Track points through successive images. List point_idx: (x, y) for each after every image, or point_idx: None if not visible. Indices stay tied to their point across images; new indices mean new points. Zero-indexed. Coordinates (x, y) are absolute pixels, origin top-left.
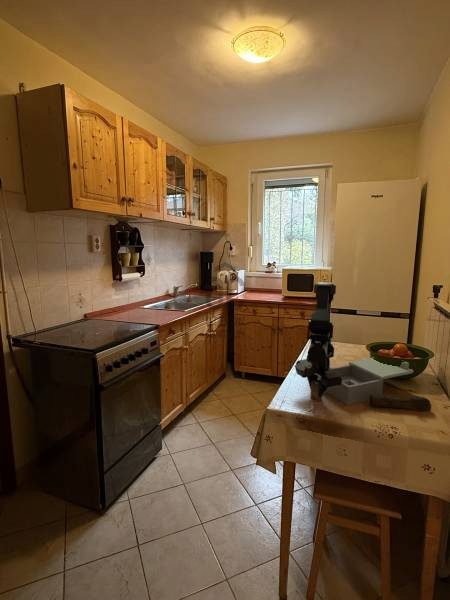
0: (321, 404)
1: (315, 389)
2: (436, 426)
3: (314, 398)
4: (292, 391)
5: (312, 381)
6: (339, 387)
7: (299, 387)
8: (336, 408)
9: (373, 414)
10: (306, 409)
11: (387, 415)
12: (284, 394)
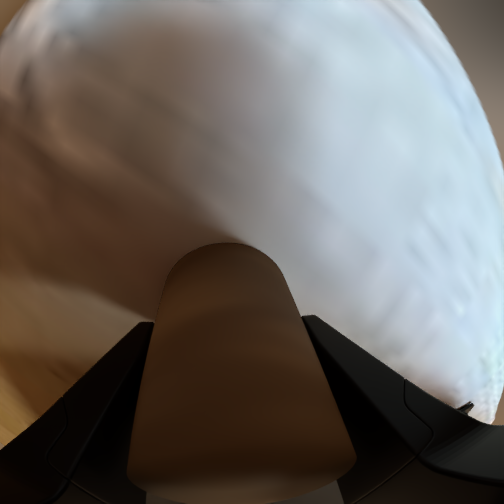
0: (95, 273)
1: (159, 371)
2: (4, 443)
3: (184, 268)
4: (448, 169)
5: (338, 461)
6: (151, 494)
7: (452, 274)
8: (36, 333)
9: (16, 410)
10: (55, 63)
11: (22, 429)
12: (435, 55)
